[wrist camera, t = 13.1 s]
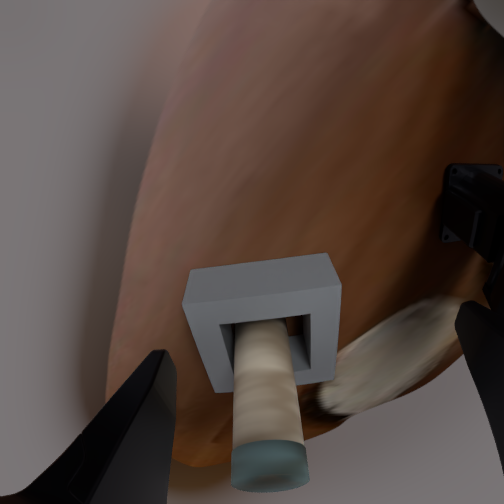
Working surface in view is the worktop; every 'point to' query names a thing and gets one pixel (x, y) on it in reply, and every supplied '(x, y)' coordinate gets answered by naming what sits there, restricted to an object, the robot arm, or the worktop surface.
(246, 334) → the birch peg
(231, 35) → the worktop surface
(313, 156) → the worktop surface
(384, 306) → the worktop surface
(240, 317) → the socket block
